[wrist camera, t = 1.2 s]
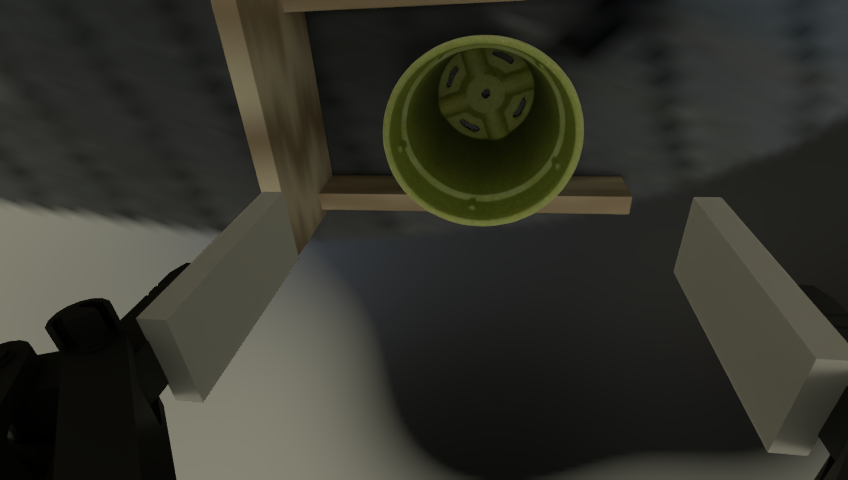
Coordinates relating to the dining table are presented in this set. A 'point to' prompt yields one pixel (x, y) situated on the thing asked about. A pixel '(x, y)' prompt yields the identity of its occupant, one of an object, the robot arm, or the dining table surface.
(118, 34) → the dining table surface
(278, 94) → the notch rack
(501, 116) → the plant pot
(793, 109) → the dining table surface
